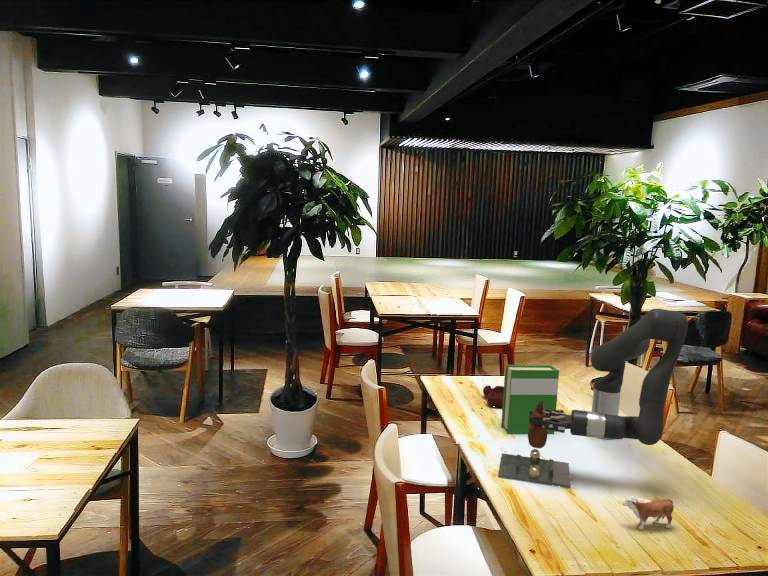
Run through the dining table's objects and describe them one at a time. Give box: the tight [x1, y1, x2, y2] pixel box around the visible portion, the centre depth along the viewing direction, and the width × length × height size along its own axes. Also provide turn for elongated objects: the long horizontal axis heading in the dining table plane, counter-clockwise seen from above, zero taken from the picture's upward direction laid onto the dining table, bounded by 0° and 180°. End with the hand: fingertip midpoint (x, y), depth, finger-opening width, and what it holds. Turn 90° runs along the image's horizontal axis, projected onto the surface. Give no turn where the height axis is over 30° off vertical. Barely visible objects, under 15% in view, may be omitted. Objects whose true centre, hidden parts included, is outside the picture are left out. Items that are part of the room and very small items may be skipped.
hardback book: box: [500, 364, 560, 435], centre depth 212 cm, size 18×7×24 cm, turn 96°
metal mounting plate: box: [497, 448, 572, 489], centre depth 179 cm, size 16×21×4 cm
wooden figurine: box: [527, 401, 548, 449], centre depth 177 cm, size 7×6×15 cm
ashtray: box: [482, 385, 504, 408], centre depth 244 cm, size 18×16×5 cm
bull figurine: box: [622, 495, 675, 531], centre depth 149 cm, size 4×13×8 cm, turn 95°
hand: (529, 417), depth 178 cm, fingers closed on wooden figurine, 5 cm apart
